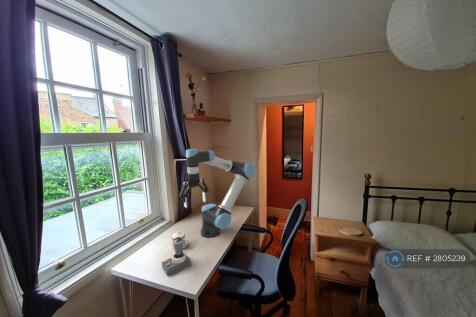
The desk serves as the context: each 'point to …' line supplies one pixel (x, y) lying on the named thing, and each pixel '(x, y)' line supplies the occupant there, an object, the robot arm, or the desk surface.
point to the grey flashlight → (178, 247)
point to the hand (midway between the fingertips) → (195, 204)
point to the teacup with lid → (182, 235)
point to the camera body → (175, 264)
